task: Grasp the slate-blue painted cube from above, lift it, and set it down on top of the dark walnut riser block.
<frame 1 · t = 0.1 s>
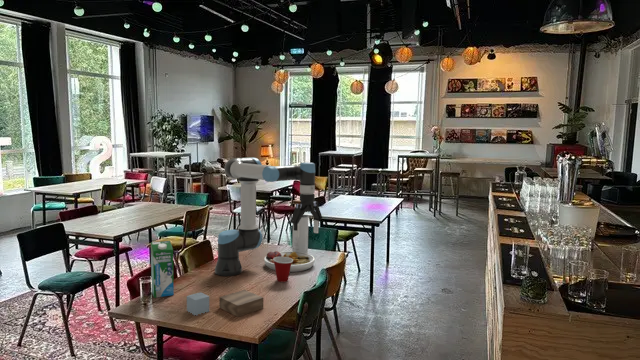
hand: (306, 234, 225), 28 cm above the table, tool pointing down, fingers open, 13 cm apart
slate cube: (198, 311, 195), on the table
bowl: (289, 266, 267), on the table
milk carton: (162, 293, 216), on the table
speaker: (300, 254, 293), on the table
walnut block: (241, 308, 200), on the table
plastic cup: (283, 280, 239), on the table
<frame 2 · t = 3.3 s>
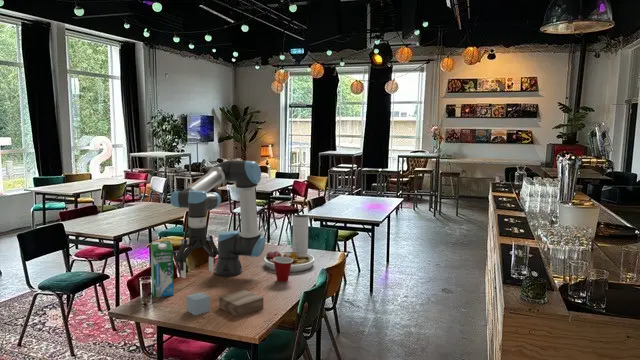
hand: (197, 274, 194), 17 cm above the table, tool pointing down, fingers open, 13 cm apart
nothing on the table moved.
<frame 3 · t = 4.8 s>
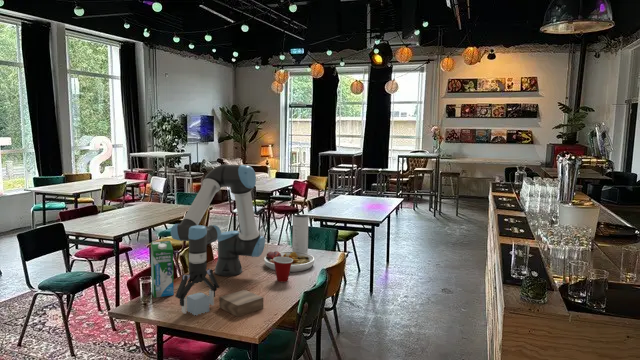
hand: (198, 308, 195), 1 cm above the table, tool pointing down, fingers open, 13 cm apart
nothing on the table moved.
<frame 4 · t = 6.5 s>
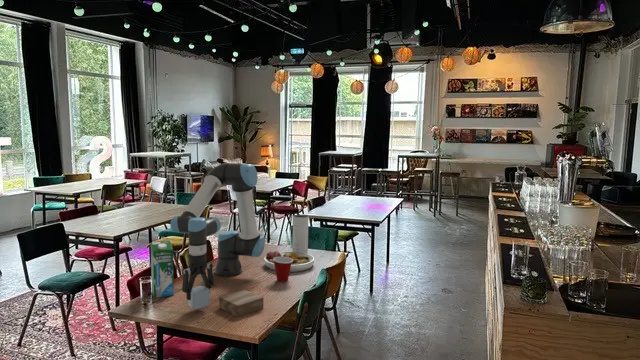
hand: (198, 304, 196), 3 cm above the table, tool pointing down, fingers closed on slate cube, 7 cm apart
slate cube: (198, 304, 196), point 3 cm above the table, touching gripper
everything else where it was.
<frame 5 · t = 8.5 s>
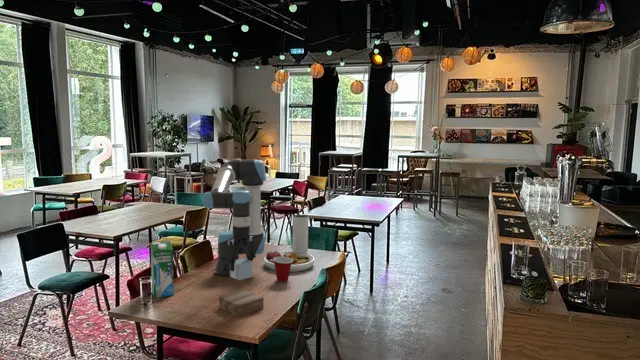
hand: (241, 275, 198), 15 cm above the table, tool pointing down, fingers closed on slate cube, 7 cm apart
slate cube: (240, 276, 199), point 15 cm above the table, touching gripper
everything else where it was.
when the fingers open (6 cm above the table, at t = 10.9 s): slate cube stays where it is, resting on walnut block.
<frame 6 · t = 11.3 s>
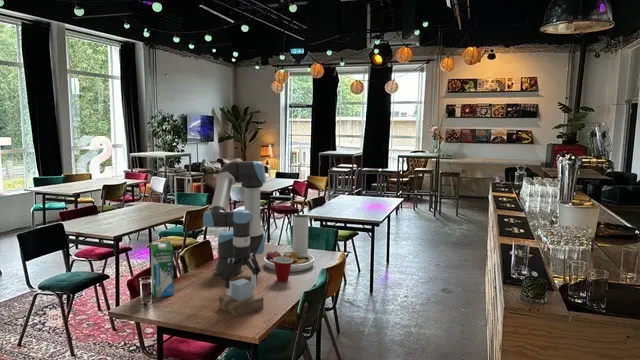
hand: (241, 291, 199), 8 cm above the table, tool pointing down, fingers open, 13 cm apart
slate cube: (241, 297, 200), point 5 cm above the table, touching walnut block
everything else where it was.
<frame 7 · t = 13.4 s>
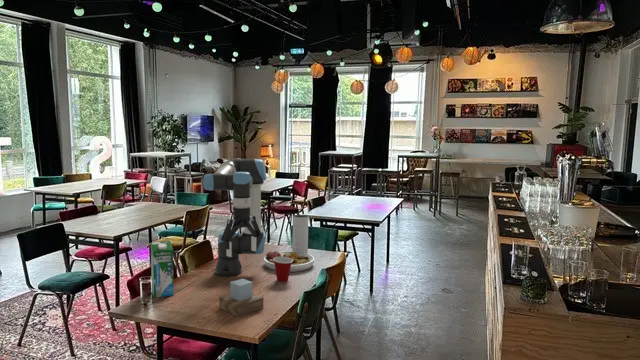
hand: (241, 253, 199), 25 cm above the table, tool pointing down, fingers open, 13 cm apart
nothing on the table moved.
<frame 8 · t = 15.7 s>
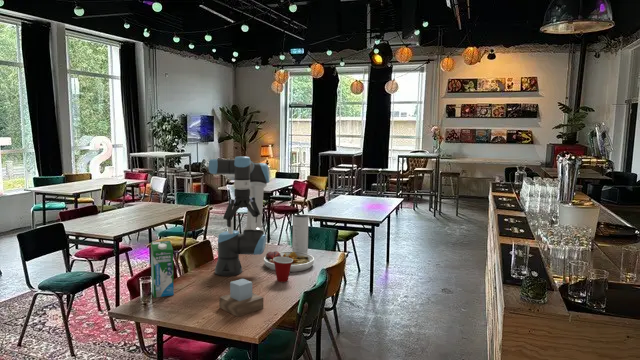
hand: (242, 231, 217), 31 cm above the table, tool pointing down, fingers open, 13 cm apart
nothing on the table moved.
at the end: slate cube inside the target area on the walnut block (0.1 cm from its centre), point 5.0 cm above the walnut block's base; slate cube tilted 0°; the gripper is holding nothing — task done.
